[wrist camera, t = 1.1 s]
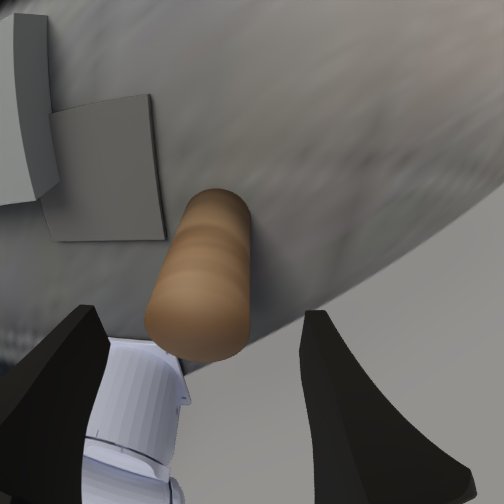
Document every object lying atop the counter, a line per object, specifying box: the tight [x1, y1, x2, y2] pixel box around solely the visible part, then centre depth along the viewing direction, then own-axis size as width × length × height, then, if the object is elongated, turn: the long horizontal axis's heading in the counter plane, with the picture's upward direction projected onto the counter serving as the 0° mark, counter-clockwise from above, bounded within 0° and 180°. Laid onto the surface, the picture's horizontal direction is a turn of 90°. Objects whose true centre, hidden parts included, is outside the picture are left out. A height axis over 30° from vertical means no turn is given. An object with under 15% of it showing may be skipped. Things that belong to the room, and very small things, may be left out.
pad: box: [40, 94, 166, 242], centre depth 15 cm, size 8×8×1 cm
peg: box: [144, 189, 250, 362], centre depth 13 cm, size 4×4×8 cm
